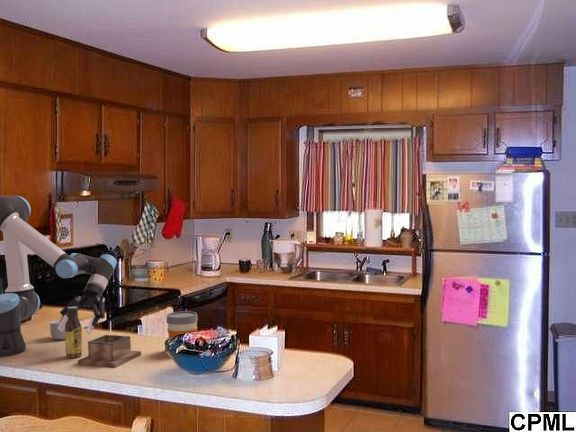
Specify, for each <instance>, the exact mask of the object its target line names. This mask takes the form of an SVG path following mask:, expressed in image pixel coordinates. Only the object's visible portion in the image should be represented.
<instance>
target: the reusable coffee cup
mask: <svg viewBox="0 0 576 432" xmlns="http://www.w3.org/2000/svg"><path fill="white" fill-rule="evenodd" d="M198 317H199V316H198V313H197V312H195V311H189V310H187V311H184V310H183V311H182V310H181V311H175V312H170V313H168V314H166V324H167V327H168V328H167V335H168V339H169V338H171V337H174V336H176V335H179V334H184V333H189V332H194V331H197V332H198V326H197V325H198Z"/></svg>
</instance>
